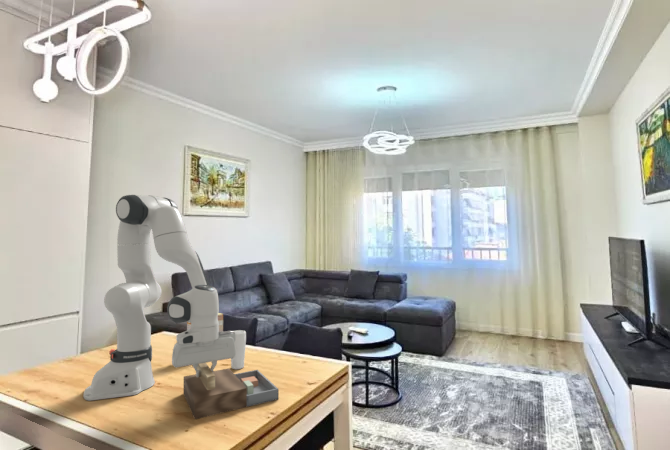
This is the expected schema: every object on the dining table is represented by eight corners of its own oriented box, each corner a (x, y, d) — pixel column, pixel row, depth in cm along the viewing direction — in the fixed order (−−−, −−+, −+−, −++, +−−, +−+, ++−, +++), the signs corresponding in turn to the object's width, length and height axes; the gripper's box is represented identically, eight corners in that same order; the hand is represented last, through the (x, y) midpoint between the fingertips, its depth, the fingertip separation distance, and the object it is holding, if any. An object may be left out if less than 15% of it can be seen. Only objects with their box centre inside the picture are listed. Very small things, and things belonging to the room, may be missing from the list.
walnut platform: (194, 419, 111) (194, 399, 111) (183, 393, 130) (183, 376, 130) (246, 407, 119) (246, 388, 120) (229, 384, 138) (229, 368, 139)
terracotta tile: (258, 380, 136) (258, 385, 135) (254, 376, 140) (254, 381, 140) (244, 382, 133) (244, 388, 133) (240, 378, 138) (240, 384, 137)
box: (246, 407, 119) (246, 395, 119) (229, 384, 138) (229, 375, 138) (278, 399, 125) (278, 388, 125) (257, 378, 144) (257, 369, 144)
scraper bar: (207, 390, 114) (207, 377, 114) (195, 371, 131) (195, 359, 132) (215, 388, 115) (215, 375, 116) (202, 369, 133) (202, 358, 133)
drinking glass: (236, 371, 152) (236, 334, 153) (226, 368, 156) (226, 332, 157) (249, 367, 158) (249, 331, 158) (239, 363, 162) (239, 329, 162)
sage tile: (247, 386, 122) (253, 385, 123) (243, 381, 127) (249, 380, 128) (247, 401, 122) (253, 400, 123) (243, 396, 127) (249, 394, 128)
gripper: (233, 328, 132) (233, 367, 132) (171, 335, 122) (170, 378, 121) (238, 331, 127) (238, 372, 126) (173, 340, 116) (173, 384, 116)
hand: (204, 375), depth 124 cm, fingers closed on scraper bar, 2 cm apart
